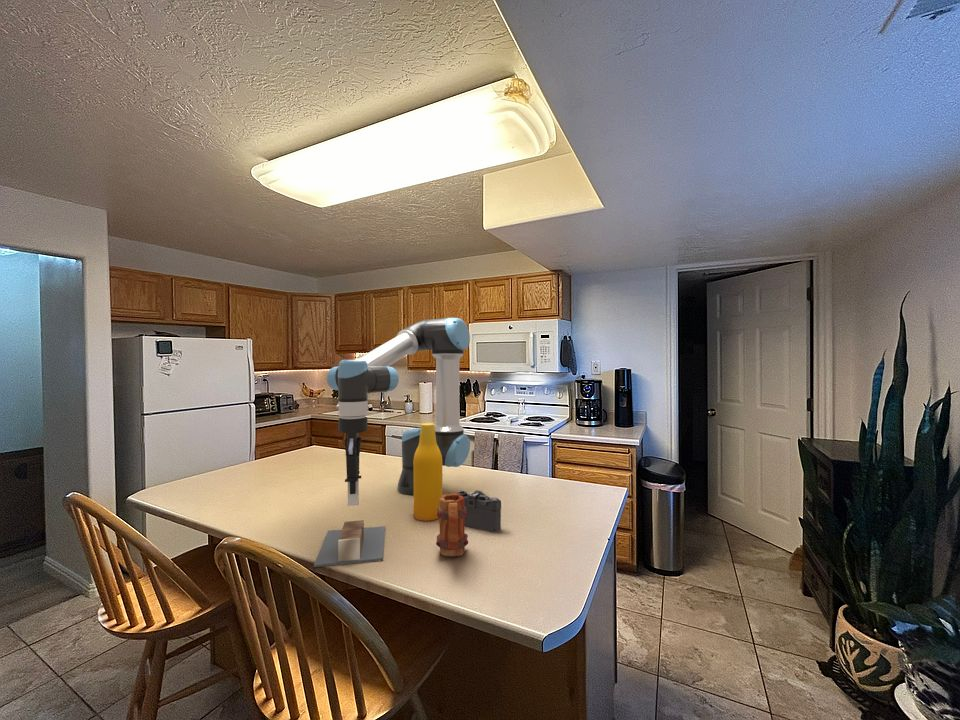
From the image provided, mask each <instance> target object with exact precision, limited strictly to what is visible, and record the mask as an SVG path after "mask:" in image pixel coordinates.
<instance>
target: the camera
mask: <svg viewBox="0 0 960 720" xmlns="http://www.w3.org/2000/svg"><path fill="white" fill-rule="evenodd" d="M456 494H460V495H461V496H463V497H464V506H466V507H467V509H466V512H467V515H466V516H465V524H464V527H468V528H472V529H473V528H474V529H477V530H482V531H486V532H489V533H490V532H491V533H499V531H501V530H502V529H501V527H502V526H501V525H502V524H501V523H502V522H501V521H502V518H501V517H502V500H500V498H498V497H490V496H489V495H488V494H486V493H484V492H482V491H481V490H478V489H477V490H476V489H475V490H474V491H473V492H472V491H471V492H470V493H468V492H467V491H465V490H464V489H460V490H459V491H457V492H456Z"/></svg>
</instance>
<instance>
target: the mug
mask: <svg viewBox="0 0 960 720" xmlns="http://www.w3.org/2000/svg"><path fill="white" fill-rule="evenodd" d="M466 509H467V507H466V506H464V497H463V496H461V495H460V494H457V493H456V492H455V493H453V492H452V493H450V494H449V493H445V494H443V495H442V497H441V498H440V502H439V507H438V508H437V511H438V513H437V516H438V517H439V518H438V523H439V534H437V536H436V541H435V542H436V543H435V544H436V546H437V547H439V552H440V554H441V555H442V556H445V557H449V558H451V557H460V556H462V555H463V554H464V553H465V550H466V546H468V544H469V539H468V537H469V535H468V534H467V533H466V532H465V531H466V530H465V526H464V524H465V516H466V515H467V512H466Z"/></svg>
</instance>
